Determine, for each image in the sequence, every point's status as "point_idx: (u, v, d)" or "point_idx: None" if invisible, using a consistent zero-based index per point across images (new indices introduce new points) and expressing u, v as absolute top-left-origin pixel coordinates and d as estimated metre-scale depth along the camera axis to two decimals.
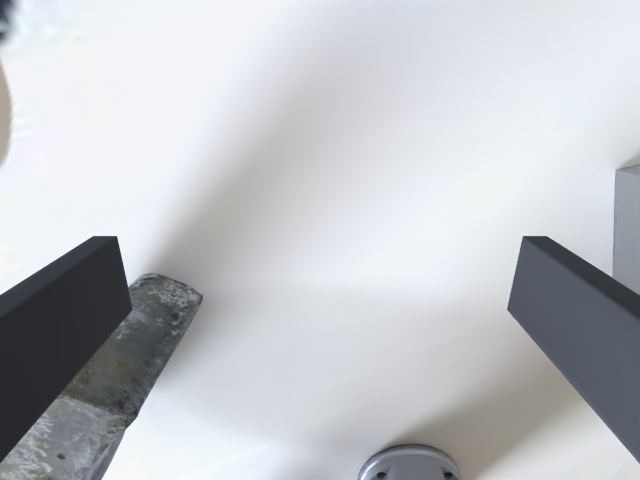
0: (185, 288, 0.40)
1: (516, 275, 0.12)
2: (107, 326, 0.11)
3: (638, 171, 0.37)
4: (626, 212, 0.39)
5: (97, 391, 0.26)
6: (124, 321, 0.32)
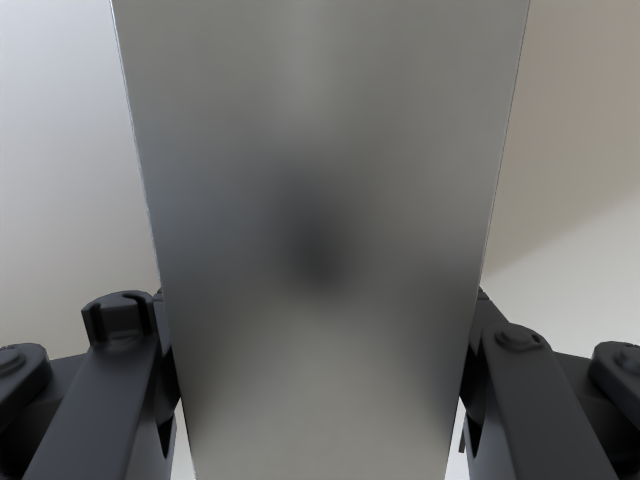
0: None
1: None
2: None
3: None
4: None
5: None
6: None
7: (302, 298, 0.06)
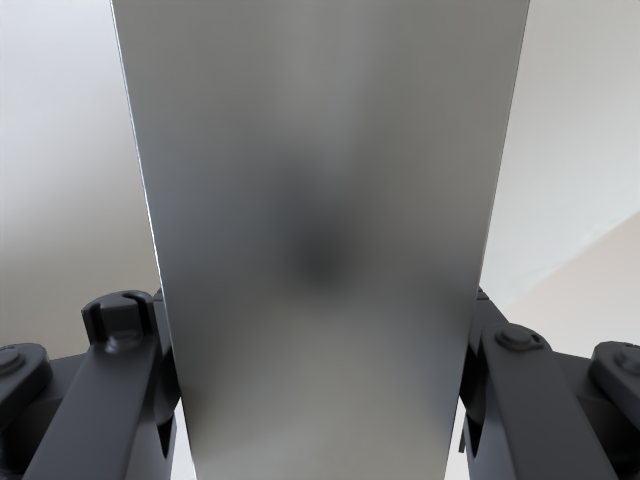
0: None
1: None
2: None
3: None
4: None
5: None
6: None
7: (302, 297, 0.06)
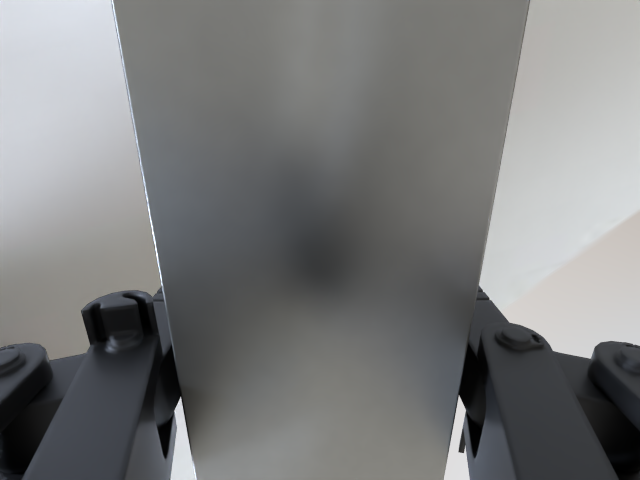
0: None
1: None
2: None
3: None
4: None
5: None
6: None
7: (302, 297, 0.06)
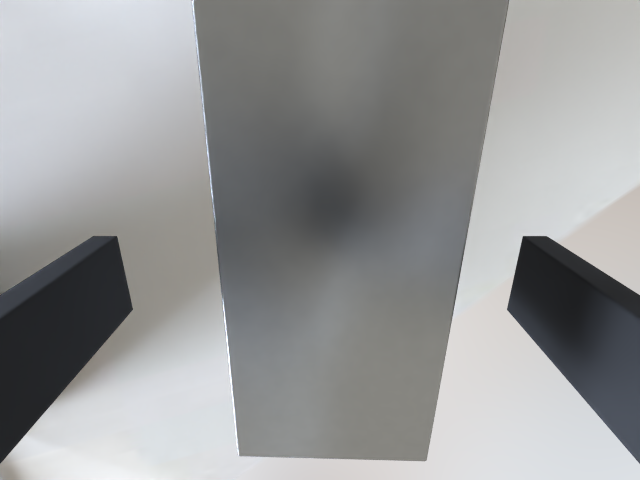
0: None
1: (516, 275, 0.12)
2: (107, 325, 0.11)
3: None
4: None
5: None
6: None
7: (327, 192, 0.07)
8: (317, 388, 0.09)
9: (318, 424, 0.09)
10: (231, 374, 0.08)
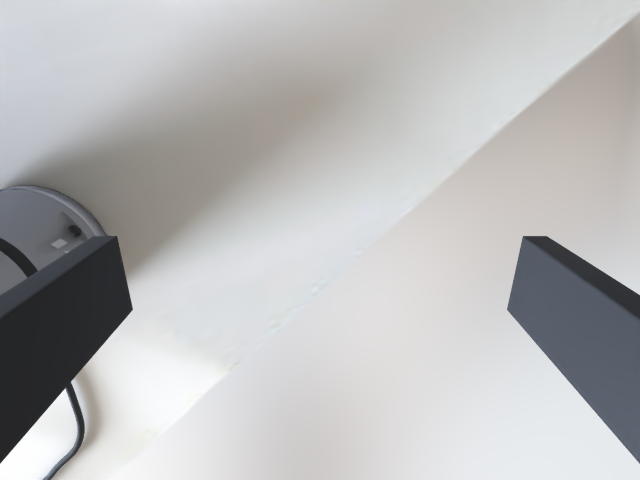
0: None
1: (515, 275, 0.12)
2: (107, 325, 0.11)
3: None
4: None
5: None
6: None
7: None
8: None
9: None
10: None
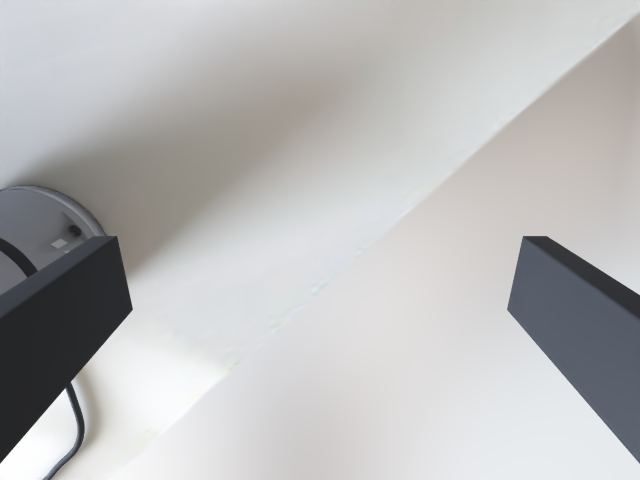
0: None
1: (515, 275, 0.12)
2: (107, 325, 0.11)
3: None
4: None
5: None
6: None
7: None
8: None
9: None
10: None
